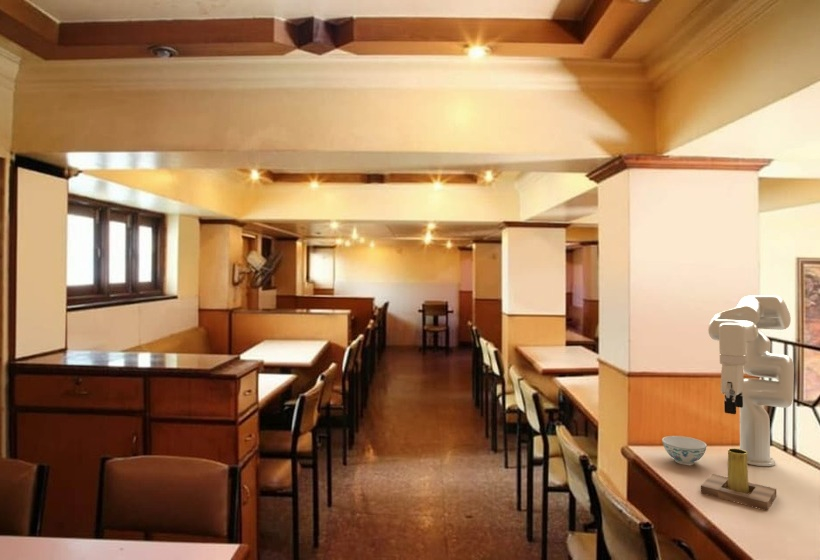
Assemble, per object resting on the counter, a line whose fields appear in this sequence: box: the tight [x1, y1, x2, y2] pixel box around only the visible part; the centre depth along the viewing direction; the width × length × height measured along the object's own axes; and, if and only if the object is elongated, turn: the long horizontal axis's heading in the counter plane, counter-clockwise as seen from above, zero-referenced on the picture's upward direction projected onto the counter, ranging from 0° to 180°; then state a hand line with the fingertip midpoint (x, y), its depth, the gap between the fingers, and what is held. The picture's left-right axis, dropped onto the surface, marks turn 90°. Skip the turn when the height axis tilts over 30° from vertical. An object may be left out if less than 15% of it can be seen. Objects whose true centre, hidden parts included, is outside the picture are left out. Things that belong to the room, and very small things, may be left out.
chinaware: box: [661, 435, 708, 466], centre depth 190 cm, size 15×15×8 cm
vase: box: [727, 447, 750, 495], centre depth 160 cm, size 6×6×14 cm
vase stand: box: [700, 473, 777, 511], centre depth 160 cm, size 14×18×2 cm
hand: (733, 410), depth 166 cm, fingers open, 9 cm apart
